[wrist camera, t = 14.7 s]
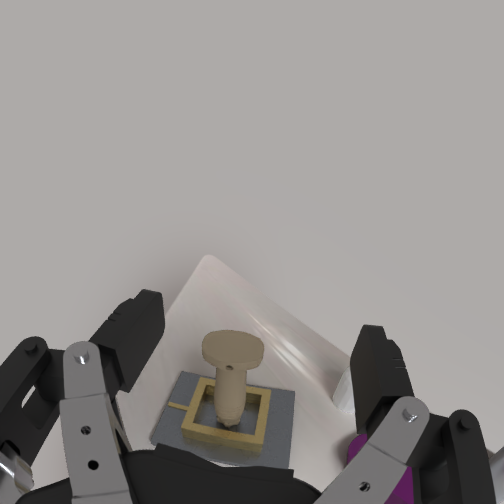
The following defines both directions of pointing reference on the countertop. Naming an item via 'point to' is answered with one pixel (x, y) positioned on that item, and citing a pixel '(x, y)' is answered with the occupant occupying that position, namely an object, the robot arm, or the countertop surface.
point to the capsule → (344, 393)
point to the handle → (231, 370)
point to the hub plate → (236, 436)
